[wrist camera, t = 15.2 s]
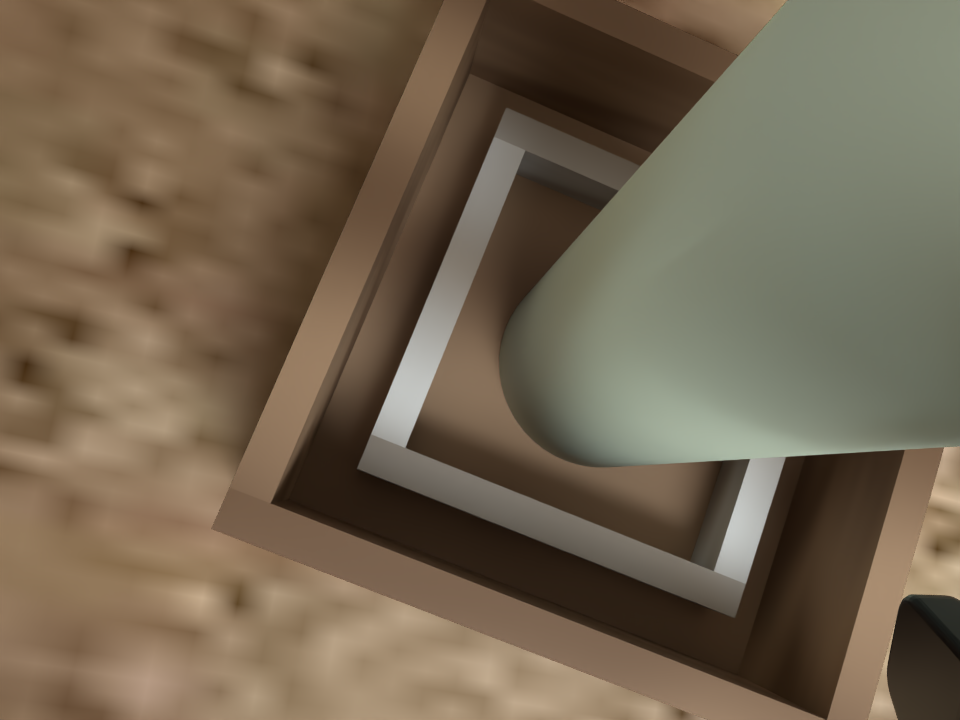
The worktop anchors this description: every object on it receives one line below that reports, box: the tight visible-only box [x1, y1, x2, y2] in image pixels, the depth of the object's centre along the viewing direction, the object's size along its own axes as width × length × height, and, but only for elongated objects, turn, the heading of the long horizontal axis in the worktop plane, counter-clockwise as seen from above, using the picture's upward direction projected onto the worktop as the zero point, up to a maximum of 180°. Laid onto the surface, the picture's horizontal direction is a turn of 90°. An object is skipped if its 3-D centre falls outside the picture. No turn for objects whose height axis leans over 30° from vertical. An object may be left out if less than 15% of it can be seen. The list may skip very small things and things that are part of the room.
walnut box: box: [211, 0, 944, 720], centre depth 20 cm, size 13×13×5 cm
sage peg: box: [499, 0, 960, 467], centre depth 14 cm, size 5×5×14 cm
